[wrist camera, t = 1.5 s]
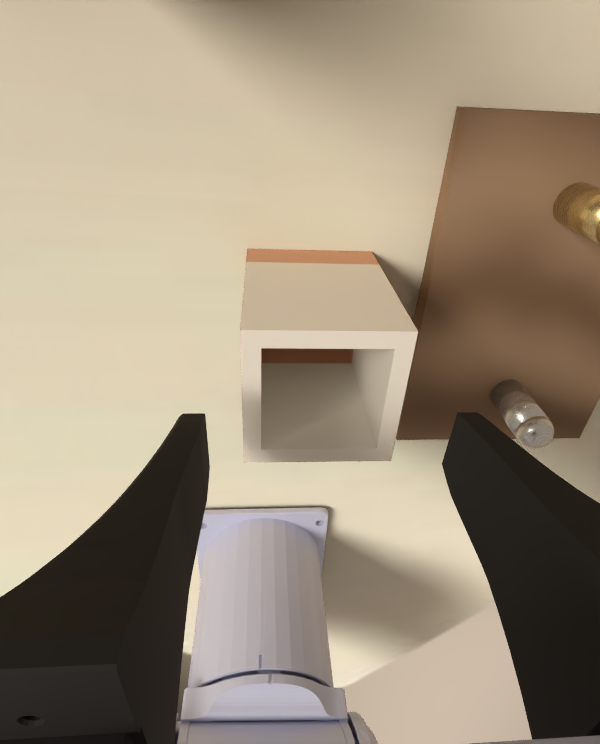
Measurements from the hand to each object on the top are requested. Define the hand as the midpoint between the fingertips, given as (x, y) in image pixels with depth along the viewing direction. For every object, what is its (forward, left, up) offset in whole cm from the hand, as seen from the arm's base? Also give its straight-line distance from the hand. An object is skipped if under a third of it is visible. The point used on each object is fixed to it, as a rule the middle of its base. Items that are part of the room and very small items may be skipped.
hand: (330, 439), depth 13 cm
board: (0, -10, -9) cm, 13 cm away
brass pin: (+5, -10, -8) cm, 14 cm away
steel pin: (-4, -10, -8) cm, 13 cm away
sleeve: (0, 0, -9) cm, 9 cm away
